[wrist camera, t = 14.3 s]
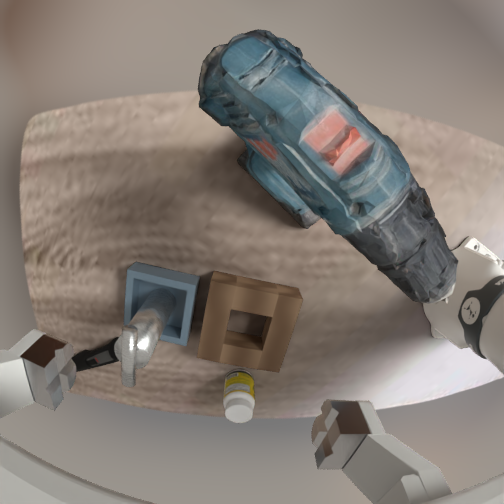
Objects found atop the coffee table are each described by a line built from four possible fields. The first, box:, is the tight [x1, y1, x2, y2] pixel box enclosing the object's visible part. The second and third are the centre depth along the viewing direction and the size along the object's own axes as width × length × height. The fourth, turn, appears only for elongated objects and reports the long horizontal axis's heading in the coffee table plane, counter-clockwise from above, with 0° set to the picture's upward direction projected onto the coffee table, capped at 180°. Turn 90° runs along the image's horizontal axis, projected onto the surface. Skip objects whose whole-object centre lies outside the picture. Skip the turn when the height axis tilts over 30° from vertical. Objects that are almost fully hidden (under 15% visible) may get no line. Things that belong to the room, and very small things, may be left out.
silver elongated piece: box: [114, 288, 176, 387], centre depth 34 cm, size 4×7×16 cm, turn 167°
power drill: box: [198, 30, 458, 304], centre depth 26 cm, size 9×23×25 cm, turn 45°
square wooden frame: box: [197, 271, 303, 372], centre depth 41 cm, size 12×12×4 cm
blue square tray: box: [124, 262, 200, 346], centre depth 41 cm, size 10×10×4 cm
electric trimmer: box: [71, 337, 119, 372], centre depth 44 cm, size 4×16×3 cm, turn 114°
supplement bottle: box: [223, 369, 255, 423], centre depth 42 cm, size 5×5×8 cm
